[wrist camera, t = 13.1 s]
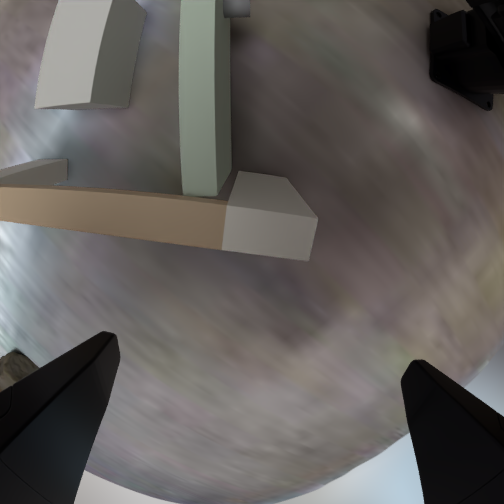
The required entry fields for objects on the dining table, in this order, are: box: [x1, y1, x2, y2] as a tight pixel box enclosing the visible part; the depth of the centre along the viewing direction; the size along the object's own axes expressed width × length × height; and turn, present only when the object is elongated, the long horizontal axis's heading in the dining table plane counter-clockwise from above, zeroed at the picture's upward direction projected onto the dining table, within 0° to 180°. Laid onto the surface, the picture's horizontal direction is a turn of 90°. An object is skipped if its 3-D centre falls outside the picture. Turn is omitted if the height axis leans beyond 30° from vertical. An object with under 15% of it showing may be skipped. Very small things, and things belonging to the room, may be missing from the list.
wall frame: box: [0, 159, 318, 261], centre depth 13 cm, size 18×2×9 cm, turn 82°
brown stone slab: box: [0, 351, 39, 392], centre depth 26 cm, size 17×15×4 cm
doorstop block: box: [34, 0, 147, 110], centre depth 12 cm, size 4×7×5 cm, turn 172°
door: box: [179, 0, 250, 197], centre depth 11 cm, size 10×2×8 cm, turn 1°
